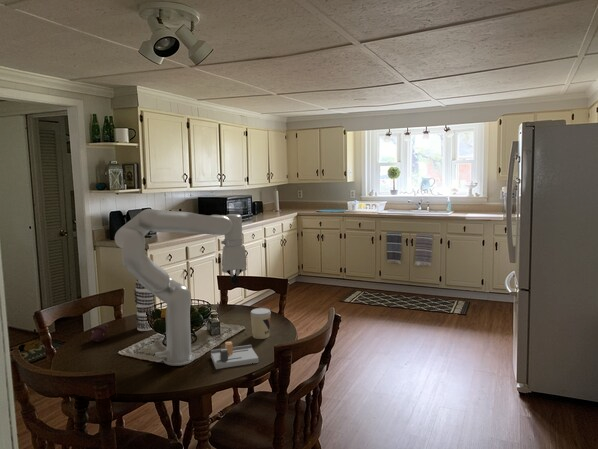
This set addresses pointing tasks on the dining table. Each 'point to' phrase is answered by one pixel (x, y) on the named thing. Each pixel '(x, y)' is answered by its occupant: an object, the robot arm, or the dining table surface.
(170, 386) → the dining table surface
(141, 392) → the dining table surface
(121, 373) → the dining table surface
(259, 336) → the coffee cup
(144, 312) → the decorative candle
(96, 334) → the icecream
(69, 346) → the dining table surface
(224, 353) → the fader black
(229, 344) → the fader orange
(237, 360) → the console
